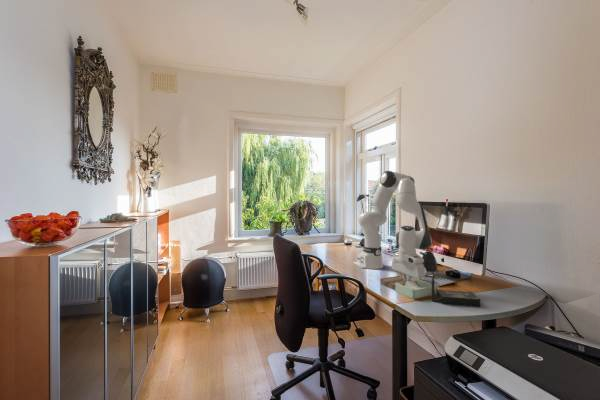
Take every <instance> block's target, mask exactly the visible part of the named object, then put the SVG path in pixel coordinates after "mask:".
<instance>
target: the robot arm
mask: <svg viewBox="0 0 600 400" xmlns="http://www.w3.org/2000/svg"><path fill="white" fill-rule="evenodd" d="M379 182H380V183H379V185H378V186H377V188H376V190H375V192H374V195H373V197H372V199H371V204H372V208H371V210H370V211H369V210H368V211H365V212H362V213H361V214H359V215H358V223H359V225H360V226H361V227H362V230H363V234H364V235H363V236H364V237H363V238H364V246H362V251H361V252H359V253H358V254H357V256H356V260H354V261H353V264H354V265H356V266H358V267H359V268H360V269H361V268H362V269H371V270H379V269H383V268H384V266H385V265H384V263H383V262H384V261H383V255H382V243H381V242H382V239H381V238H382V236H381V234H380V232H379V229H378V227H380V226H383V225H384V224H385V223H386V222H387V219H388V217H387V210H388V206H389V204H390V201H391V200H392V198H393V195H394V192H395V194H396V195H395V199H396V205H397V207H398V208H399V209H400V210H402V211H404V212H406V213H409V214H411V215H414V216H415V217H416V218H417V221H418V225H419V229H420V230H416V229H415V227H413V226H410V225H402V226H401V227H400V228H399V231H397V233H395V237H396V238H395V239H396V240H395V244H396V245H397V246H398V253H394V254H393V256H392V261H391V268H392V270H394V271H396V272H398V273H401V277H403V278H404V282H408V281H410V279H411V277H415V278H418V279H419V278H420V279H423V278H425V276H424V265H423V262H424V259H423V258H422V257H421V256H420V255H419V254H418V253H417V249H419V250H428V249H429V248H430V247H431V246H432V243H433V242H432V241H433V239H432V237H431V233H430V230H429V227H428V221H427V218H426V213H425V209H424V207H423V205H422V204H421V203H420V202H419V201H418V199H417V191H416V186H415V184H416V183H415V179H414V177H412V176H410V175H407V174H404V173H402V172H395V171H392V170H385V171H384V172H382V173H381V175H380V178H379ZM406 275H407V276H406ZM407 277H408V278H407ZM420 279H419V280H420Z"/></svg>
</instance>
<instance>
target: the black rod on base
mask: <svg viewBox="0 0 600 400" xmlns="http://www.w3.org/2000/svg"><path fill="white" fill-rule="evenodd" d="M431 284H432V296H431V302H440V303H441V305H452V306H462V307H463V306H464V307H476V308H477V307H478V308H480V307H481V299H480V298H479V297H478V296H477V295H476V293H474V292H473V291H458V290H457V291H456V290H455V291H454V290H453V291H452V290H445V289H444V290H443V289H438V288H437V295H436V297H437V298H435V295H434V285H435V275H434V267H433V276H431Z"/></svg>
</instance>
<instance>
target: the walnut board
mask: <svg viewBox="0 0 600 400" xmlns="http://www.w3.org/2000/svg"><path fill="white" fill-rule="evenodd" d="M410 281H412V280H410ZM414 282H415V281H414ZM395 283H399V284H401V285H404V286H405V283H406V282H404V278H403V276H402V275H395V276H389V277H383V278H380V283H379V284H380V285H382V286H384V287H387V288H388V289H391V290H393V291H395ZM415 283H416V284H417V281H416V282H415Z"/></svg>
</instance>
